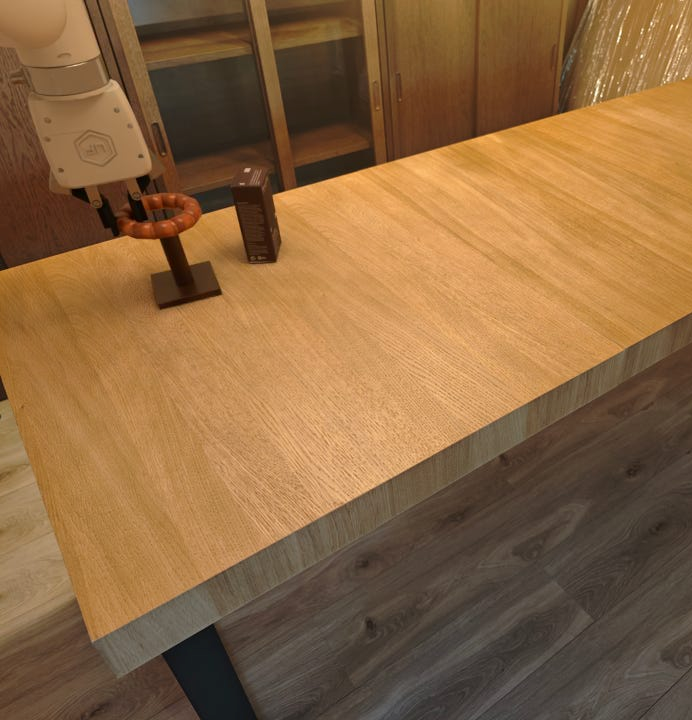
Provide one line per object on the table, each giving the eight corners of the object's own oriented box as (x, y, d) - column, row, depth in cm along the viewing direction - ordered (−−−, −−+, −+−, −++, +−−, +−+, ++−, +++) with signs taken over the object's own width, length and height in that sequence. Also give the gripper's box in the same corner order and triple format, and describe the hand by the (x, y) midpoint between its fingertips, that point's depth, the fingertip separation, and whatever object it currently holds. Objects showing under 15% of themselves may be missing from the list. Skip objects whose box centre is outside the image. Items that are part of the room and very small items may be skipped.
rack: (160, 310, 85) (136, 251, 79) (152, 280, 90) (129, 223, 84) (222, 294, 88) (203, 236, 82) (211, 266, 93) (193, 209, 87)
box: (279, 262, 94) (261, 185, 86) (247, 263, 94) (226, 186, 86) (284, 241, 98) (268, 166, 90) (254, 242, 98) (235, 167, 90)
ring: (122, 249, 77) (117, 234, 76) (115, 214, 84) (110, 200, 82) (209, 231, 81) (205, 216, 79) (195, 198, 87) (191, 184, 86)
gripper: (-21, 98, 63) (58, 258, 75) (153, 74, 69) (200, 227, 81) (-17, 76, 68) (57, 230, 80) (144, 56, 74) (190, 202, 86)
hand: (128, 227), depth 81 cm, fingers closed on ring, 2 cm apart
